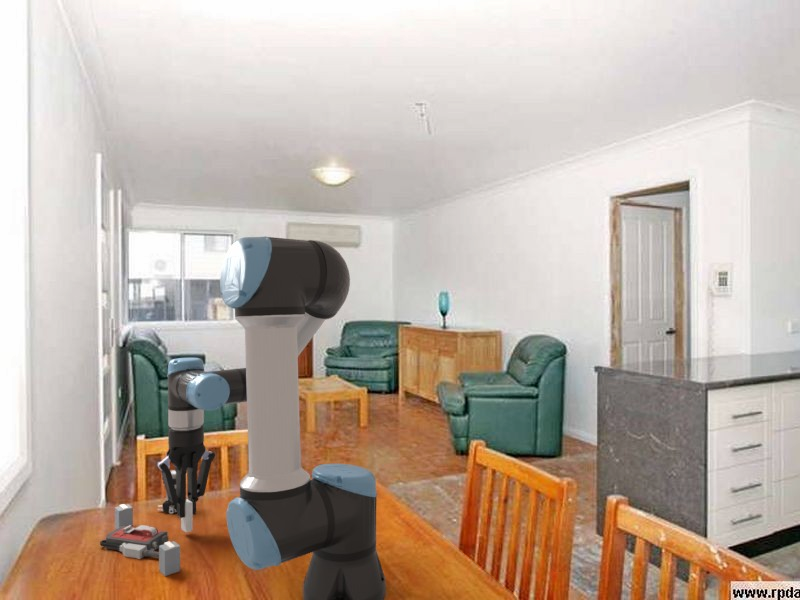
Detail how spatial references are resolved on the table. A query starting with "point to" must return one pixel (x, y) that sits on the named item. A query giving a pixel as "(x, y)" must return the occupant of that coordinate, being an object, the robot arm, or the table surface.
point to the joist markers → (167, 551)
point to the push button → (168, 505)
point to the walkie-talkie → (136, 541)
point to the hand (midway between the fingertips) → (186, 529)
